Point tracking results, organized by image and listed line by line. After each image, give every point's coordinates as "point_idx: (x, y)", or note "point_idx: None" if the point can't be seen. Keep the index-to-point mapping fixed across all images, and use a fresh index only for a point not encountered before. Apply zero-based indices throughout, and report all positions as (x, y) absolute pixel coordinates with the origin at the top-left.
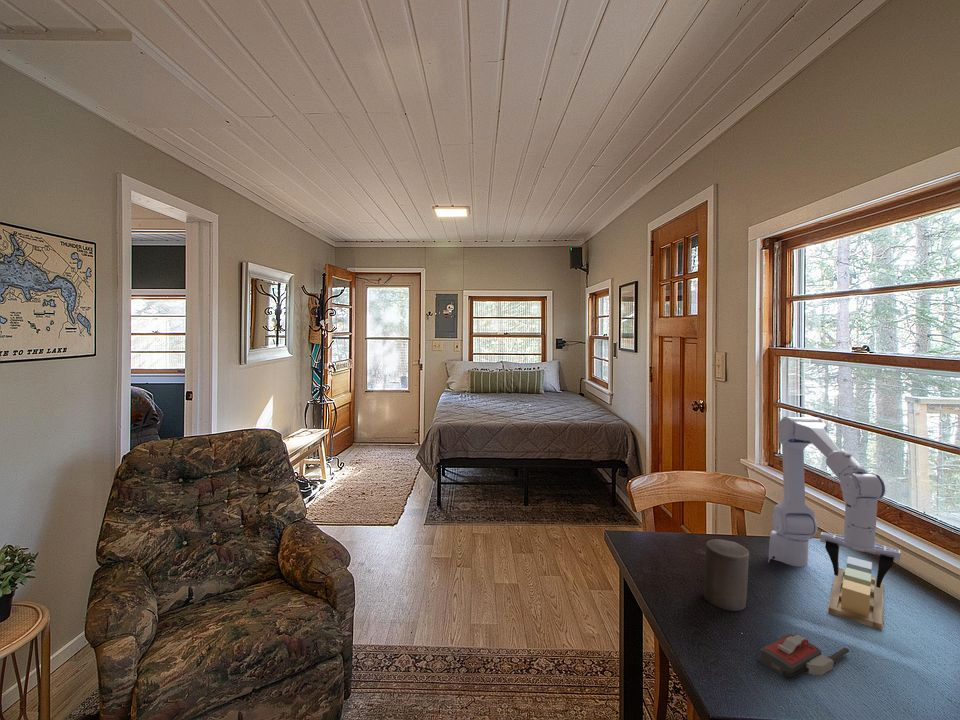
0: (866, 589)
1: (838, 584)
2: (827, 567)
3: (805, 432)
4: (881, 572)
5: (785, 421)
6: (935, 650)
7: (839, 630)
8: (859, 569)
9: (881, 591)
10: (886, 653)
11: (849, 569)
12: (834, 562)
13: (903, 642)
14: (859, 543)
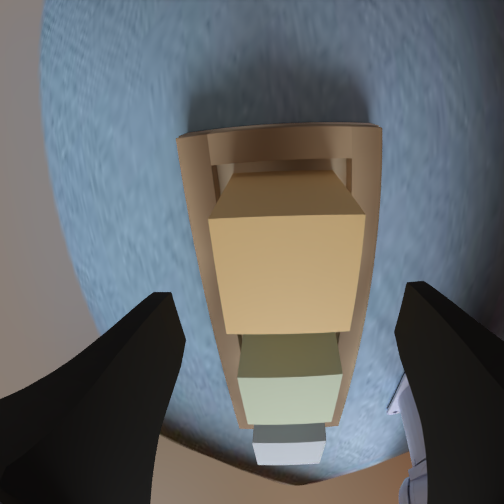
0: (238, 291)
1: (343, 355)
2: (350, 422)
3: None
4: (77, 374)
5: None
6: (75, 182)
7: (317, 55)
8: (287, 432)
9: (229, 385)
10: (163, 26)
11: (320, 415)
12: (484, 343)
13: (134, 152)
14: None
